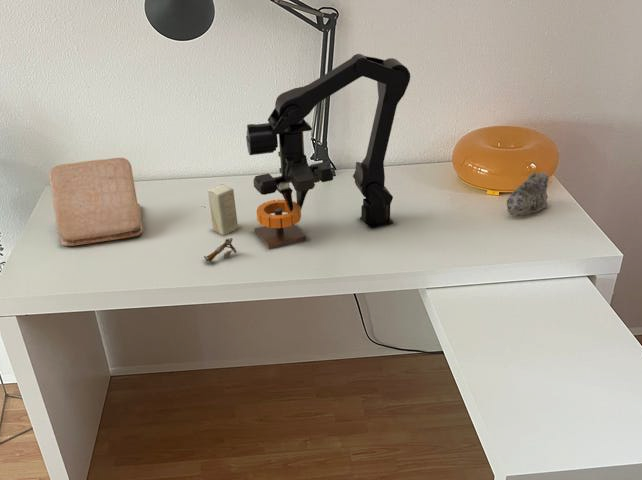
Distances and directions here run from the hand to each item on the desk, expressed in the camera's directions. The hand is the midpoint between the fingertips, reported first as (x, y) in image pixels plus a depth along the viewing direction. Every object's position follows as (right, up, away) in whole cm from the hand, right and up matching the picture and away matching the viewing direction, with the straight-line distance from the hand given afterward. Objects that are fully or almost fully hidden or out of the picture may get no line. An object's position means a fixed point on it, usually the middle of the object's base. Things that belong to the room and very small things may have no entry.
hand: (295, 211), depth 187 cm
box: (-18, -4, +6) cm, 19 cm away
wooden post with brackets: (-18, -13, -6) cm, 23 cm away
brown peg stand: (-4, -6, +2) cm, 7 cm away
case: (-50, -2, +10) cm, 52 cm away
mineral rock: (+59, +2, +10) cm, 60 cm away
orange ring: (-4, -2, -1) cm, 5 cm away
